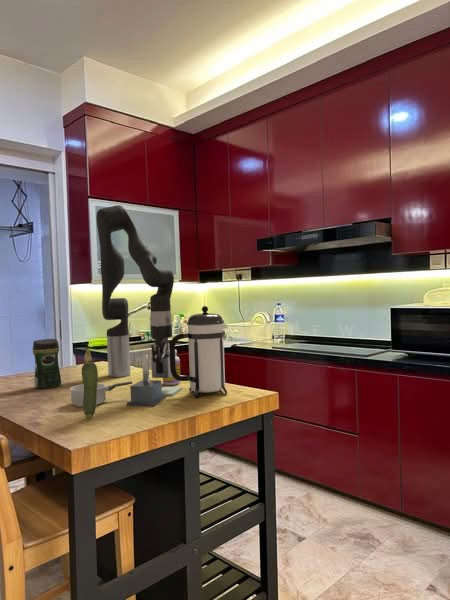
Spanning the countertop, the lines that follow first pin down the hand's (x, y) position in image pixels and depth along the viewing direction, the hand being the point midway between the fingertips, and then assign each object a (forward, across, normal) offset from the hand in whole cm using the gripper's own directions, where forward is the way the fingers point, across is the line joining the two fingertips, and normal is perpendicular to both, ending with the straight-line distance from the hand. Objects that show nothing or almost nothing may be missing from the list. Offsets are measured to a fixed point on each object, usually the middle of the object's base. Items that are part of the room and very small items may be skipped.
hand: (162, 371), depth 153 cm
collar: (+2, 0, 0) cm, 2 cm away
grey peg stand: (+7, +13, -1) cm, 15 cm away
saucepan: (+8, +14, -16) cm, 23 cm away
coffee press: (+8, +1, +15) cm, 17 cm away
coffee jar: (+8, -6, -50) cm, 51 cm away
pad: (+7, 0, 0) cm, 7 cm away
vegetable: (+8, +32, -10) cm, 34 cm away
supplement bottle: (+8, -14, -2) cm, 16 cm away
